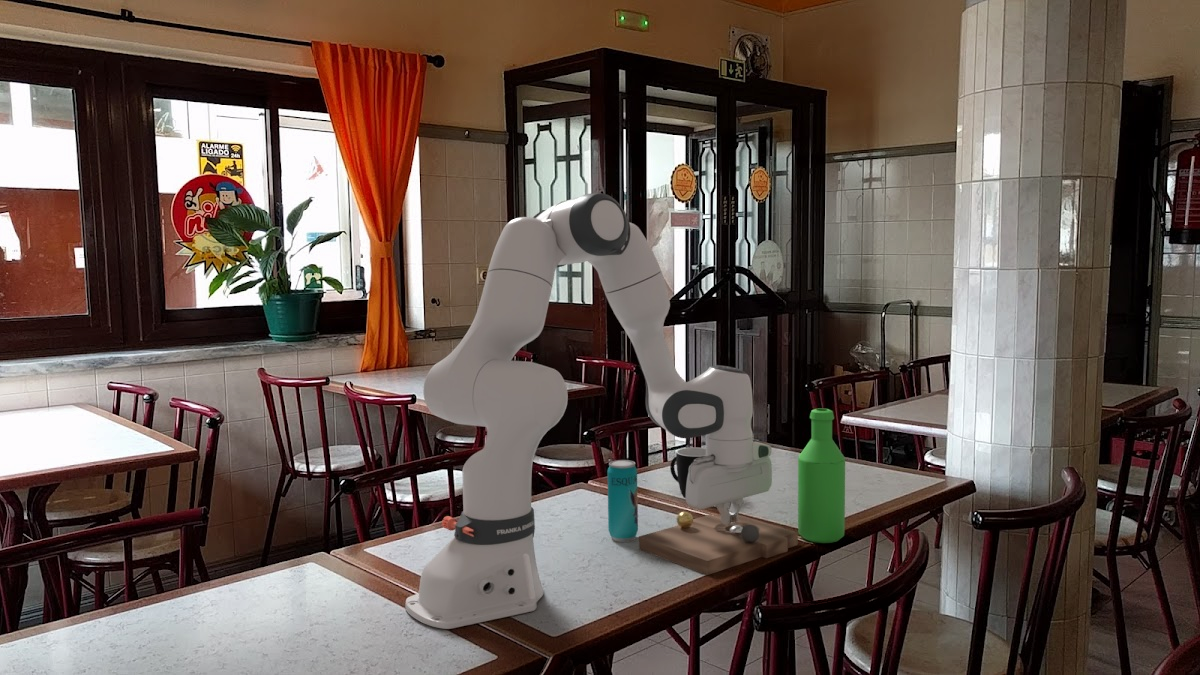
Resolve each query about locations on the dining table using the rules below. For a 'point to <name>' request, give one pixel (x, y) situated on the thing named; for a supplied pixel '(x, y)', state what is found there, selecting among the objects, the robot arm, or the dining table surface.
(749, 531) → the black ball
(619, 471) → the beverage can
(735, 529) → the steel ball
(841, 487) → the bottle
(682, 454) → the mug
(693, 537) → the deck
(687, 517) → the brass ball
